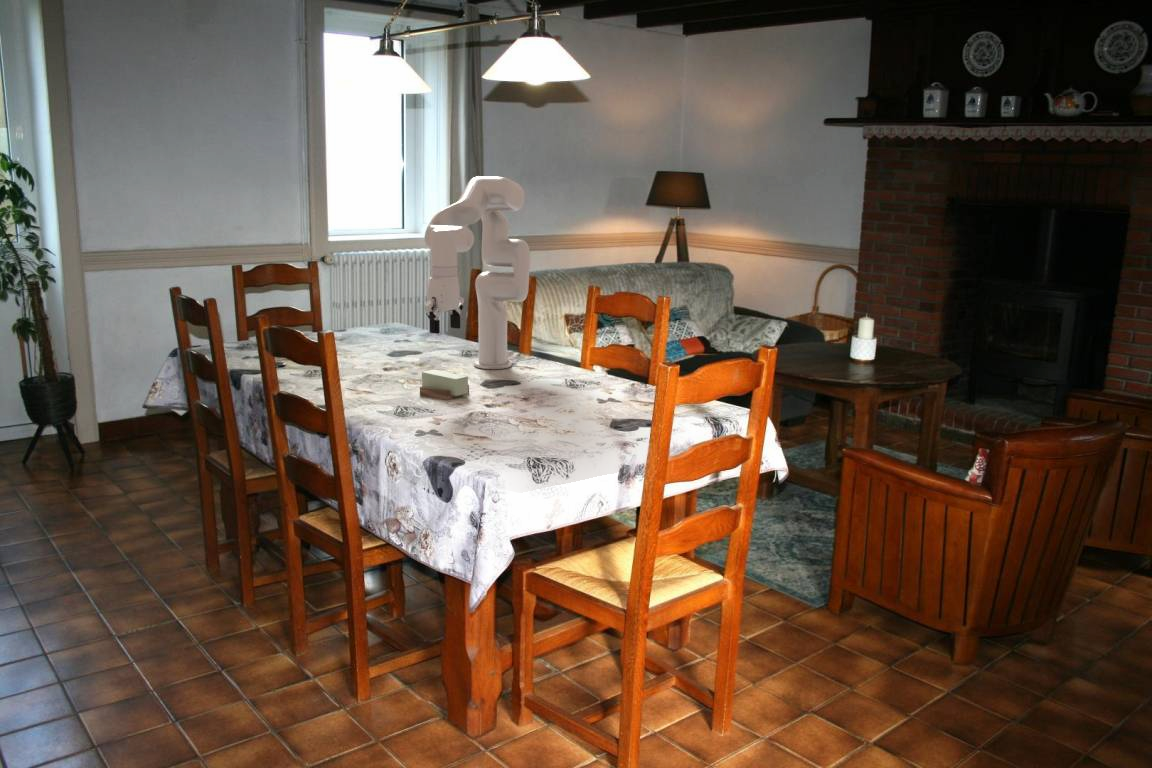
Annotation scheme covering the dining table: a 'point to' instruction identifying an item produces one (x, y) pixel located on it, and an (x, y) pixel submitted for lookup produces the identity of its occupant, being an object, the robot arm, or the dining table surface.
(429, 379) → the peg
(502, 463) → the dining table surface
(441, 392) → the cradle
